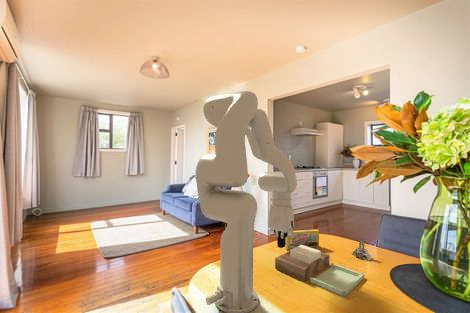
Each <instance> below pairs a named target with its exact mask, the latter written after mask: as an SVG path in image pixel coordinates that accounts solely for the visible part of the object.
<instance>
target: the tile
mask: <svg viewBox="0 0 470 313" xmlns="http://www.w3.org/2000/svg"><path fill="white" fill-rule="evenodd" d="M289 251H290V257H292V258H295V259H297V260H300V261H303V262H305V263H308V264H310V263H312V262H314V261H316V260H317V259H319V258H321V252H322V251H321V250H319V249H317V248H314V247H313V248H310V247H307V246H304V245H300V246H298V247H296V248H293V249H291V250H289Z"/></svg>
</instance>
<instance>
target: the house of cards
mask: <svg viewBox="0 0 470 313" xmlns="http://www.w3.org/2000/svg"><path fill="white" fill-rule="evenodd" d="M365 246H366V244H365V242H364V240H363V239H362V240H360V241H359V243H358V246H357V247H356V249H355V250H353V252H352V253H351V256H352V255H353V256H355V258H358V260H361V259H363V260H365V261H367V262H369V261H372V260H374V258H373V257H372V255H371V253H369V251H368V249H365Z"/></svg>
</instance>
